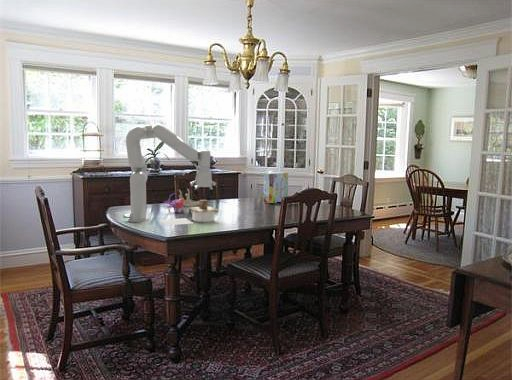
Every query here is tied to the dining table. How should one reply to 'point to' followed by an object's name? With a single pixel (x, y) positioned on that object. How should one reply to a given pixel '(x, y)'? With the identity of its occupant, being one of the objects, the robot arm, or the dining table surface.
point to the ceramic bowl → (203, 216)
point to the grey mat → (176, 221)
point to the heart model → (175, 204)
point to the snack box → (275, 186)
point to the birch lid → (203, 207)
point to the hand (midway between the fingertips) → (202, 195)
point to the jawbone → (188, 200)
